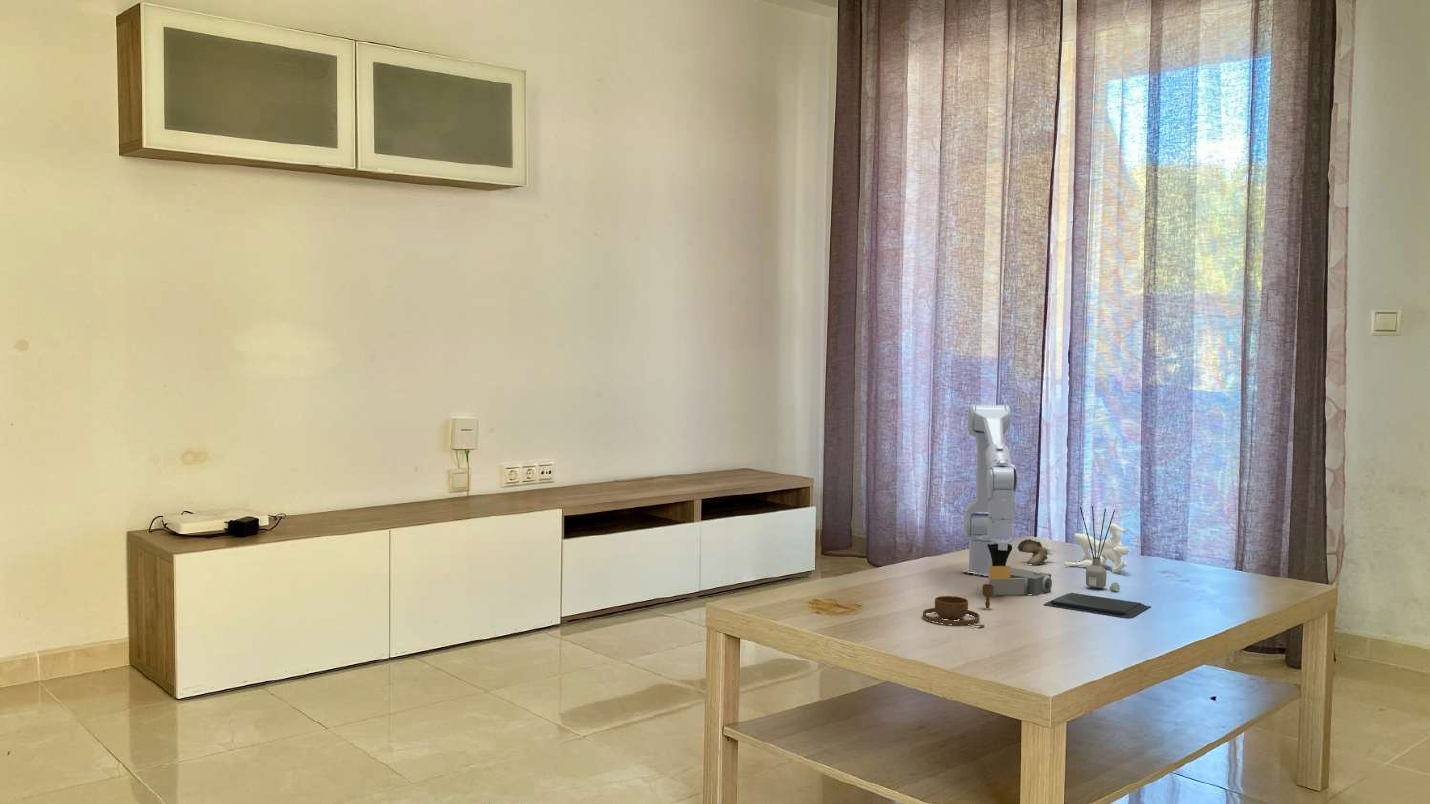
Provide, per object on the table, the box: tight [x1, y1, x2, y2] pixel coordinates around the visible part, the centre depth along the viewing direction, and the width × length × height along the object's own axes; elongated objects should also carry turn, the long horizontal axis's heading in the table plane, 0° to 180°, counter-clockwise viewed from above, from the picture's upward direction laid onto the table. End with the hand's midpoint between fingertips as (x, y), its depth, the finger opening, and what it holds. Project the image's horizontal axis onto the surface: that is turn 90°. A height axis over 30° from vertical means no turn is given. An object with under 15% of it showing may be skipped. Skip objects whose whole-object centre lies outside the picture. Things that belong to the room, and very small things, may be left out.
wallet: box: [1043, 592, 1152, 620], centre depth 250 cm, size 20×2×15 cm
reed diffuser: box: [1079, 505, 1121, 592], centre depth 269 cm, size 10×7×20 cm
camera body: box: [1010, 567, 1053, 596], centre depth 267 cm, size 8×13×4 cm, turn 47°
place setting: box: [922, 583, 994, 629], centre depth 238 cm, size 18×20×6 cm
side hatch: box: [988, 565, 1028, 596], centre depth 260 cm, size 1×10×7 cm, turn 100°
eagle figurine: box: [1017, 538, 1055, 566], centre depth 301 cm, size 8×7×9 cm
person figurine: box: [1063, 523, 1130, 574], centre depth 295 cm, size 13×13×18 cm
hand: (998, 575), depth 261 cm, fingers closed, pressing on side hatch
